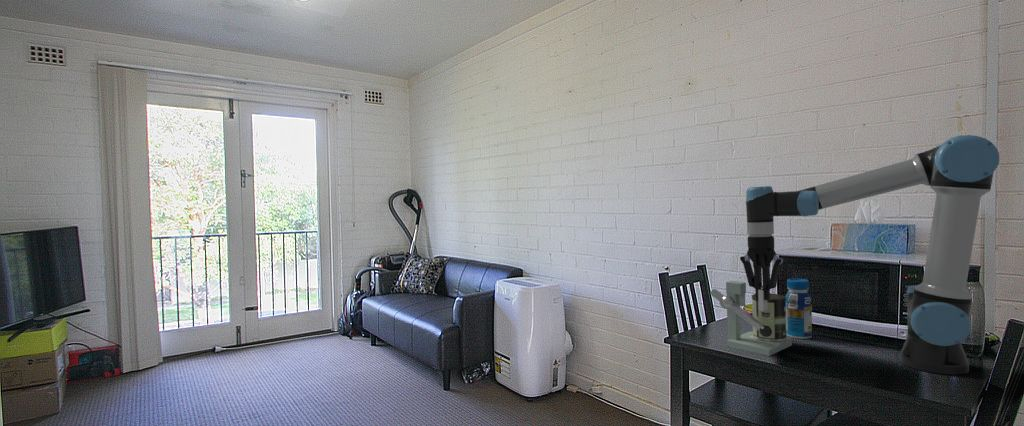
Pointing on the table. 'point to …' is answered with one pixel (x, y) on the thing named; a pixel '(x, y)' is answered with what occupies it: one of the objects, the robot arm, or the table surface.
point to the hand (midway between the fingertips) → (763, 309)
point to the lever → (741, 312)
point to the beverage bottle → (798, 309)
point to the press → (747, 339)
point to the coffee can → (771, 317)
